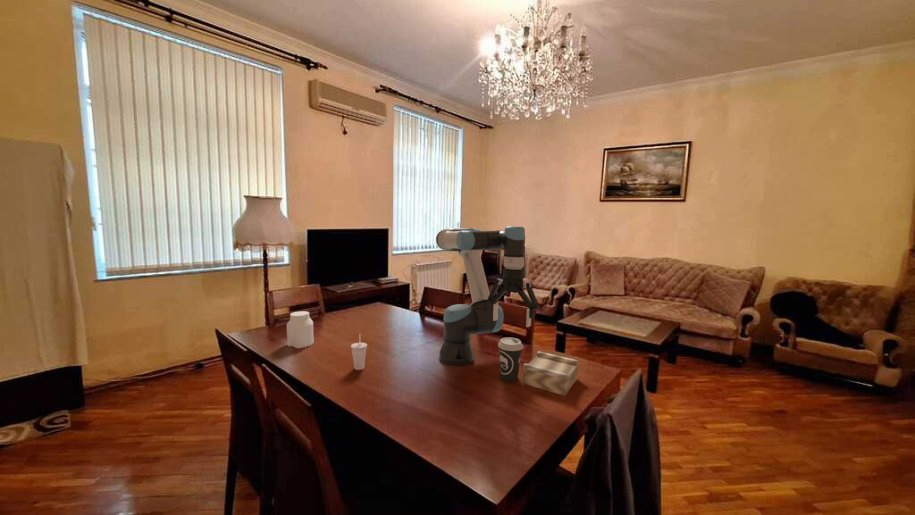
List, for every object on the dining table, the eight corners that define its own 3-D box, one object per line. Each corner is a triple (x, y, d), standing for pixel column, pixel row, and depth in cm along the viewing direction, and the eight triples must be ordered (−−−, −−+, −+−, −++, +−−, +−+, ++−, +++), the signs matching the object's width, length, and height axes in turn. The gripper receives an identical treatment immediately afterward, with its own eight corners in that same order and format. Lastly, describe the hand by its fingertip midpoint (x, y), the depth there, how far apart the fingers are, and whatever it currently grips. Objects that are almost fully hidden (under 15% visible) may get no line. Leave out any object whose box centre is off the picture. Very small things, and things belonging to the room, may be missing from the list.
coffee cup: (521, 385, 129) (523, 346, 127) (495, 382, 131) (496, 344, 129) (521, 374, 138) (523, 337, 137) (497, 371, 140) (499, 335, 139)
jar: (317, 343, 167) (316, 313, 166) (299, 349, 159) (298, 317, 157) (301, 338, 173) (300, 309, 171) (283, 344, 165) (282, 314, 163)
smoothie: (370, 366, 143) (370, 333, 141) (360, 372, 137) (359, 338, 135) (358, 363, 145) (358, 331, 144) (347, 369, 140) (347, 335, 138)
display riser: (522, 383, 131) (523, 364, 130) (537, 368, 144) (538, 351, 143) (565, 395, 122) (566, 375, 121) (577, 378, 135) (578, 360, 135)
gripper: (479, 265, 133) (478, 319, 136) (542, 272, 120) (539, 331, 122) (488, 263, 139) (487, 315, 142) (549, 269, 126) (546, 326, 128)
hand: (511, 323), depth 132 cm, fingers open, 13 cm apart
